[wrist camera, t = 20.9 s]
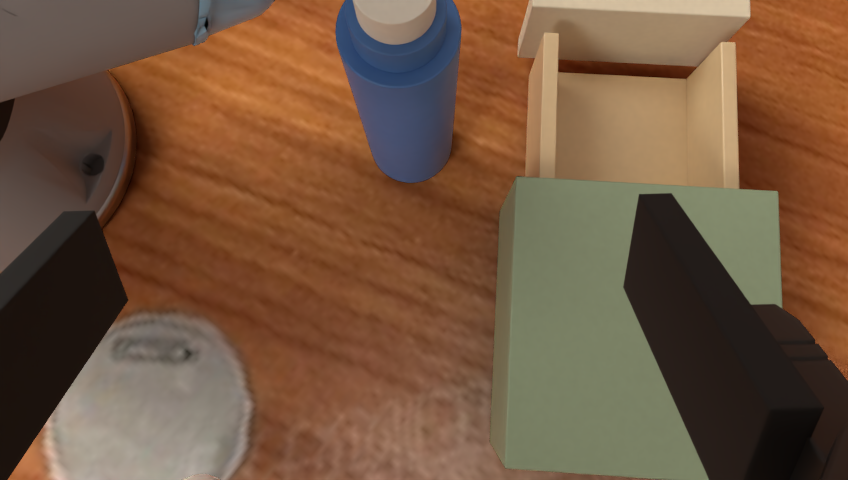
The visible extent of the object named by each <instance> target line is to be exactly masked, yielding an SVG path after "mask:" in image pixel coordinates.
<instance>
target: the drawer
mask: <svg viewBox="0 0 848 480" xmlns="http://www.w3.org/2000/svg"><path fill="white" fill-rule="evenodd" d="M750 16H751V14H750V0H529V3H528V7H527V10H526V14H525V18H524V21H523V25H522V29H521V32H520V36H519V40H518V57H521V58H535V60H534V63H533V66H532V69H531V72H530V75H529V86H528V113H527V140H526V168H525V177H540V178H557V179H575V180H593V181H610V182H628V183H645V184H663V185H680V186H698V187H715V188H733V189H739V150H738V111H737V72H736V43H735V42H727V41H728V40H729V39H730V38H731V37H732V36H733V35H734V34H735V33H736V32H737V31H738V30H739V29H740V28H741V27H742V26H743V25H744V24H745V23H746V21H747V20H748V19H749V18H750ZM558 59H560V60H579V61H599V62H618V63H637V64H657V65H676V66H695V67H697V68H696V69H695V70H694V71H693V72H692V73H691V75H690V76H689V77H688V78H687V79H677V78H658V77H639V76H620V75H601V74H582V73H563V72H558Z"/></svg>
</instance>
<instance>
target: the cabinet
mask: <svg viewBox="0 0 848 480" xmlns="http://www.w3.org/2000/svg"><path fill="white" fill-rule="evenodd" d="M659 193H672V195H673V196H674V197H675V199H676V200H677V202H678V203H679V204H680V206H681V207H682V209H683V210H684V211H685V213H686V214H687V216H688V217H689V218H690V220H691V221H692V223H693V224H694V225H695V227H696V228H697V230H698V231H699V232H700V234H701V235H702V237H703V238H704V239H705V241H706V242H707V244H708V245H709V246H710V248H711V249H712V251H713V252H714V253H715V255H716V256H717V258H718V259H719V260H720V262H721V263H722V265H723V266H724V267H725V269H726V270H727V272H728V273H729V274H730V276H731V277H732V279H733V280H734V282H735V283H736V284H737V286H738V287H739V289H740V290H741V291H742V293H743V294H744V296H745V297H746V298H747V300H748V301H749V303H750V304H751V305H755V304H776V305H778V306H779V307H781V308H782V309H783V307H782V280H781V252H780V225H779V198H778V191H768V190H750V189H733V188H715V187H698V186H680V185H663V184H645V183H628V182H610V181H593V180H575V179H557V178H540V177H522V176H517V177H516V179H515V181H514V182H513V185H512V187H511V189H510V191H509V193H508V195H507V197H506V199H505V201H504V203H503V205H502V207H501V209H500V215H499V237H498V260H497V283H496V306H495V329H494V352H493V375H492V398H491V421H490V444H491V445H492V447H493V449H494V450H495V452H496V454H497V455H498V457H499V459H500V461H501V462H502V464H503V465H504V467H505V468H506V469H517V470H532V471H546V472H560V473H575V474H589V475H603V476H617V477H632V478H646V479H660V480H709V478H708V476H707V474H706V472H705V469H704V467H703V465H702V463H701V461H700V458H699V456H698V454H697V452H696V449H695V447H694V445H693V443H692V440H691V438H690V436H689V434H688V431H687V429H686V427H685V425H684V422H683V420H682V418H681V416H680V414H679V411H678V409H677V407H676V405H675V402H674V400H673V398H672V396H671V393H670V391H669V389H668V387H667V384H666V382H665V380H664V378H663V375H662V373H661V371H660V369H659V366H658V364H657V362H656V360H655V358H654V355H653V353H652V351H651V349H650V346H649V344H648V342H647V340H646V337H645V335H644V333H643V331H642V328H641V326H640V324H639V322H638V319H637V317H636V315H635V313H634V311H633V308H632V306H631V304H630V302H629V299H628V297H627V295H626V293H625V290H624V288H623V285H624V279H625V273H626V268H627V262H628V256H629V250H630V244H631V238H632V232H633V226H634V220H635V214H636V208H637V202H638V197H639V194H659Z"/></svg>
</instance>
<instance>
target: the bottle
mask: <svg viewBox="0 0 848 480" xmlns="http://www.w3.org/2000/svg"><path fill="white" fill-rule="evenodd" d="M336 41H337V46H338V49H339V52H340V56H341V59H342V62H343V65H344V68H345V71H346V74H347V77H348V80H349V84H350V87H351V90H352V93H353V96H354V99H355V102H356V105H357V108H358V112H359V115H360V118H361V121H362V124H363V127H364V130H365V133H366V136H367V140H368V143H369V146H370V149H371V152H372V155H373V158H374V160H375V162H376V164H377V165H378V167H379V168H380V169H381V170H382V171H383V172H384V173H385V174H386V175H387V176H389V177H391V178H393V179H395V180H397V181H401V182H406V183H415V182H421V181H424V180H427V179H429V178H431V177H433V176H434V175H436V174H437V173H438V172H439V171H441V169H442V168H443V167H444V166H445V164H446V163H447V161H448V159H449V156H450V153H451V146H452V135H453V123H454V112H455V100H456V88H457V77H458V65H459V54H460V42H461V20H460V16H459V13H458V10H457V8H456V5H455V4H454V2H453V0H345V2H344V3H343V5H342V7H341V9H340V12H339V14H338V17H337V22H336Z"/></svg>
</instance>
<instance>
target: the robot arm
mask: <svg viewBox="0 0 848 480" xmlns="http://www.w3.org/2000/svg"><path fill="white" fill-rule="evenodd" d="M274 1H275V0H0V480H7V479H8V478H9V477H10V475H11V474H12V472H13V471H14V469H15V468H16V466H17V465H18V463H19V462H20V460H21V459H22V457H23V456H24V454H25V453H26V451H27V450H28V448H29V447H30V445H31V444H32V442H33V441H34V439H35V438H36V436H37V435H38V433H39V432H40V430H41V429H42V428H43V426H44V425H45V423H46V422H47V420H48V419H49V417H50V416H51V414H52V413H53V411H54V410H55V408H56V407H57V405H58V404H59V402H60V401H61V399H62V398H63V396H64V395H65V393H66V392H67V390H68V389H69V387H70V386H71V384H72V383H73V382H74V380H75V379H76V377H77V376H78V374H79V373H80V371H81V370H82V368H83V367H84V365H85V364H86V362H87V361H88V359H89V358H90V356H91V355H92V353H93V352H94V350H95V349H96V347H97V346H98V344H99V343H100V341H101V340H102V338H103V337H104V335H105V334H106V333H107V331H108V330H109V328H110V327H111V325H112V324H113V322H114V321H115V319H116V318H117V316H118V315H119V313H120V312H121V310H122V309H123V307H124V306H125V304H126V303H127V301H128V298H127V296H126V293H125V290H124V288H123V285H122V282H121V280H120V277H119V274H118V272H117V269H116V266H115V264H114V261H113V258H112V256H111V253H110V250H109V248H108V245H107V242H106V240H105V237H104V234H103V232H102V229H101V228H102V227H103V226H104V225H105V224H106V223H107V221H108V220H109V219H110V217H111V216H112V215H113V213H114V212H115V210H116V209H117V207H118V206H119V204H120V202H121V200H122V198H123V196H124V194H125V192H126V190H127V187H128V185H129V182H130V180H131V176H132V172H133V169H134V164H135V158H136V146H137V142H136V128H135V121H134V117H133V113H132V110H131V107H130V104H129V101H128V99H127V97H126V95H125V93H124V91H123V90H122V88H121V86H120V85H119V83H118V82H117V81H116V79H115V78H114V77H113V76H112V74H111V73H110V72H109V71H108V69H111V68H115V67H118V66H121V65H125V64H128V63H131V62H134V61H138V60H141V59H144V58H147V57H151V56H154V55H157V54H161V53H164V52H167V51H170V50H174V49H177V48H180V47H183V46H187V45H190V44H192V45H194V46H195V45H199V44H200V43H203V42H205V41H206V40H207V38H208V36H209V35H212V34H214V33H217V32H219V31H222V30H224V29H227V28H230V27H232V26H235V25H237V24H240V23H242V22H245V21H247V20H250V19H252V18H255V17H258V16H260V15H261V14H263V12H265V11H266V10H267V9H268V8H269V7H270V6H271V4H272V3H273V2H274ZM623 288H624V290H625V293H626V295H627V297H628V299H629V302H630V304H631V306H632V308H633V311H634V313H635V315H636V317H637V319H638V322H639V324H640V326H641V328H642V331H643V333H644V335H645V337H646V340H647V342H648V344H649V346H650V349H651V351H652V353H653V355H654V358H655V360H656V362H657V364H658V366H659V369H660V371H661V373H662V375H663V378H664V380H665V382H666V384H667V387H668V389H669V391H670V393H671V396H672V398H673V400H674V402H675V405H676V407H677V409H678V411H679V414H680V416H681V418H682V420H683V422H684V425H685V427H686V429H687V431H688V434H689V436H690V438H691V440H692V443H693V445H694V447H695V449H696V452H697V454H698V456H699V458H700V461H701V463H702V465H703V467H704V469H705V472H706V474H707V476H708V478H709V480H848V381H847V380H846V379H845V377H844V376H843V375H842V374H841V372H840V371H839V370H838V368H837V367H836V366H835V365H834V363H833V362H832V361H831V360H828V356H827V355H826V353H825V352H824V351H823V350H822V348H821V347H820V346H819V344H815V339H814V338H813V337H812V336H811V334H810V333H809V332H808V331H807V329H806V328H805V327H804V326H803V324H802V323H801V322H800V321H799V320H798V319H797V318H795V317H794V316H792V315H791V314H789V313H788V312H786V311H785V310H784V309H782V308H781V307H779V306H778V305H776V304H755V305H751V304H750V303H749V301H748V300H747V298H746V297H745V296H744V294H743V293H742V291H741V290H740V289H739V287H738V286H737V284H736V283H735V282H734V280H733V279H732V277H731V276H730V274H729V273H728V272H727V270H726V269H725V267H724V266H723V265H722V263H721V262H720V260H719V259H718V258H717V256H716V255H715V253H714V252H713V251H712V249H711V248H710V246H709V245H708V244H707V242H706V241H705V239H704V238H703V237H702V235H701V234H700V232H699V231H698V230H697V228H696V227H695V225H694V224H693V223H692V221H691V220H690V218H689V217H688V216H687V214H686V213H685V211H684V210H683V209H682V207H681V206H680V204H679V203H678V202H677V200H676V199H675V197H674V196H673V195H672V193H659V194H639V197H638V202H637V208H636V214H635V220H634V226H633V232H632V238H631V244H630V250H629V256H628V262H627V268H626V273H625V279H624V285H623Z"/></svg>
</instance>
